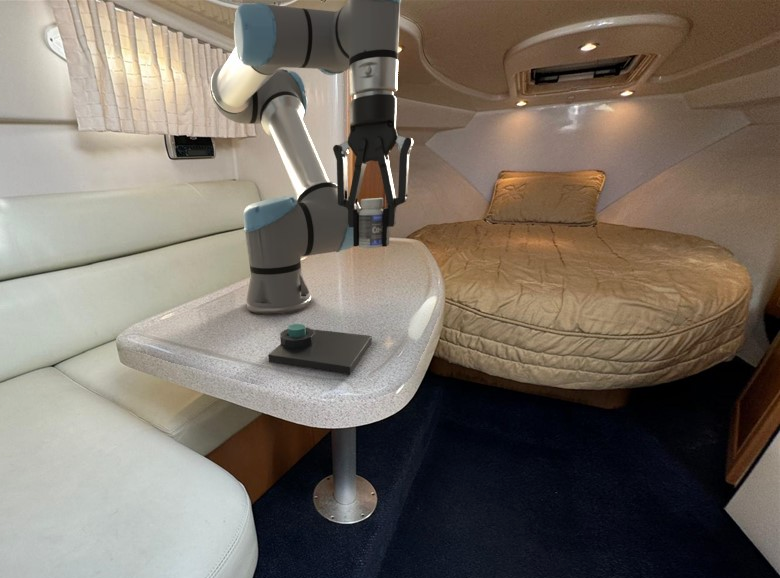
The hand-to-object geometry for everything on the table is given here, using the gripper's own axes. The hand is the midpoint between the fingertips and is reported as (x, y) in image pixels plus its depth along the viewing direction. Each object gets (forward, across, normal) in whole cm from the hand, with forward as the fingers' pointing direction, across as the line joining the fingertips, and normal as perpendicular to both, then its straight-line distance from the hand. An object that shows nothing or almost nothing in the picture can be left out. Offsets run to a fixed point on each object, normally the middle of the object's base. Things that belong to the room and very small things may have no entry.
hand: (371, 244), depth 69 cm
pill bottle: (+1, 0, 0) cm, 1 cm away
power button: (+12, -9, -18) cm, 23 cm away
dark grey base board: (+15, -4, -18) cm, 24 cm away
